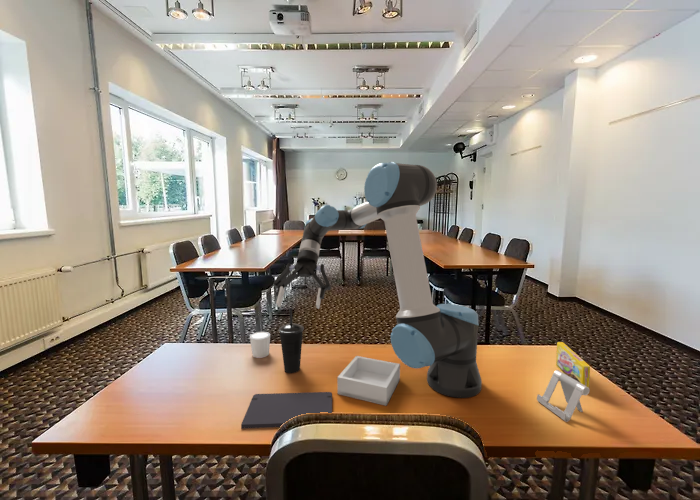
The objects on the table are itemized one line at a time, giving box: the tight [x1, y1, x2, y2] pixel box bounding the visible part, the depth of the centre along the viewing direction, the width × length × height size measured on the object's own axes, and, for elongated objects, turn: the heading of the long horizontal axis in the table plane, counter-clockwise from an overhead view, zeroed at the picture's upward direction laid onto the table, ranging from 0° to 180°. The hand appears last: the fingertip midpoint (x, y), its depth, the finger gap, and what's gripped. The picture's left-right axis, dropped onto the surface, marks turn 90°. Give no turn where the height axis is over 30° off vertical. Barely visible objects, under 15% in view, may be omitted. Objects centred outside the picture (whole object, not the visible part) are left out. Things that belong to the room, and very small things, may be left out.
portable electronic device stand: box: [536, 369, 590, 423], centre depth 85 cm, size 9×8×8 cm
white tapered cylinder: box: [249, 331, 271, 359], centre depth 116 cm, size 7×7×7 cm
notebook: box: [240, 391, 333, 430], centre depth 85 cm, size 13×2×21 cm
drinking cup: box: [278, 307, 305, 374], centre depth 105 cm, size 8×8×20 cm
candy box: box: [555, 341, 591, 394], centre depth 100 cm, size 16×2×8 cm, turn 171°
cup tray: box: [336, 355, 401, 407], centre depth 96 cm, size 14×14×5 cm
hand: (297, 306), depth 113 cm, fingers open, 13 cm apart
